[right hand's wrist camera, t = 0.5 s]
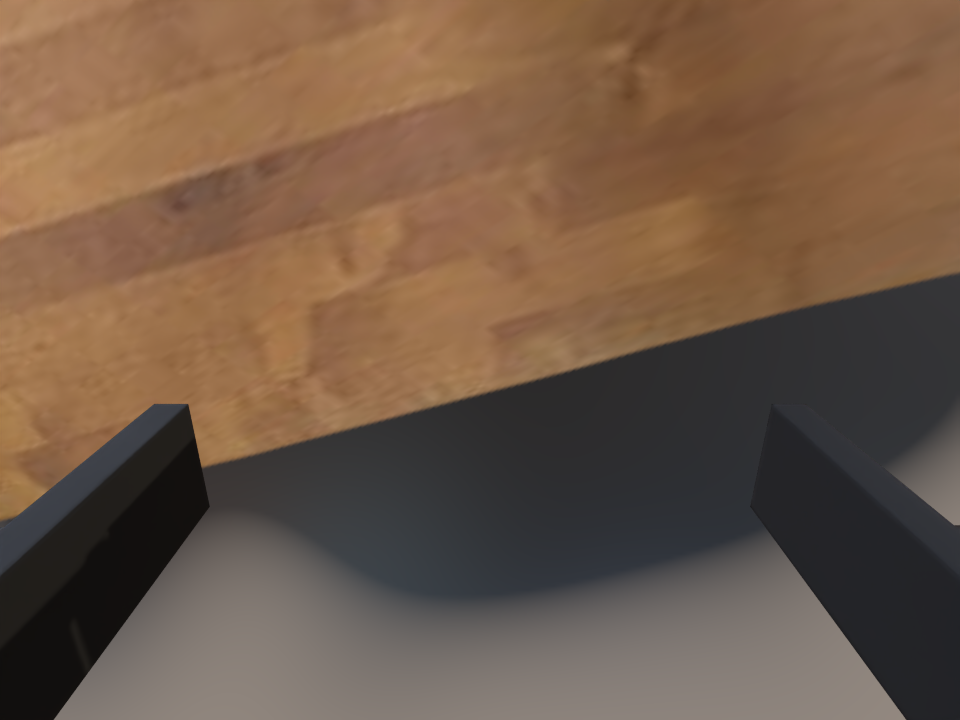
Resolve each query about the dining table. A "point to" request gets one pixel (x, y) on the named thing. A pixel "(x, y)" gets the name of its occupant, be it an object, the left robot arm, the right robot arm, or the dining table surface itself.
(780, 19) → the dining table surface
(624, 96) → the dining table surface
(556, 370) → the dining table surface
